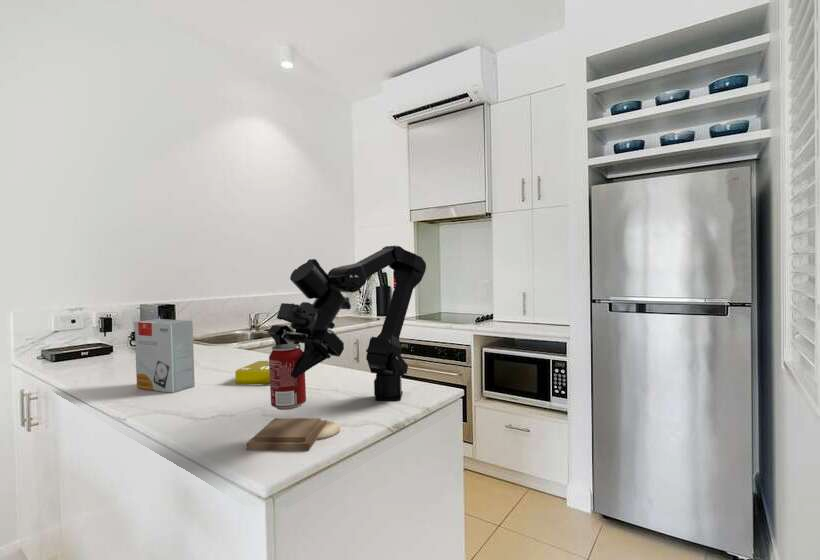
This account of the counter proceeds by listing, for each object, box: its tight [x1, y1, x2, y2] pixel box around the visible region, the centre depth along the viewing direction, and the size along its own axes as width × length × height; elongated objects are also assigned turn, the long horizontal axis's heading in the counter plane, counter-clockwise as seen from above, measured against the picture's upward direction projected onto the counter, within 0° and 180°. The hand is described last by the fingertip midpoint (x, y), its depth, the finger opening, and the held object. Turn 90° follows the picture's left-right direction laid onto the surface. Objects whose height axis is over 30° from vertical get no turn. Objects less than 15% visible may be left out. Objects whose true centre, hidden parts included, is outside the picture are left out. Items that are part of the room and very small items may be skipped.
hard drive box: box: [133, 318, 196, 394], centre depth 123 cm, size 16×8×20 cm, turn 68°
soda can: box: [268, 343, 307, 411], centre depth 83 cm, size 7×7×12 cm
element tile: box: [234, 360, 270, 385], centre depth 131 cm, size 15×15×5 cm
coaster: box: [316, 420, 341, 441], centre depth 86 cm, size 9×9×1 cm
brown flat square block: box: [245, 417, 328, 451], centre depth 83 cm, size 12×12×2 cm
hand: (281, 374), depth 82 cm, fingers closed on soda can, 7 cm apart
